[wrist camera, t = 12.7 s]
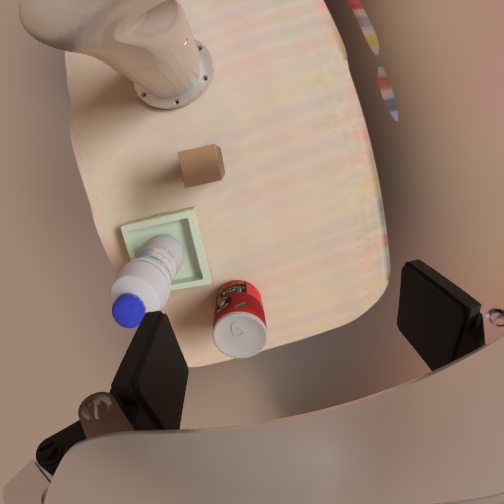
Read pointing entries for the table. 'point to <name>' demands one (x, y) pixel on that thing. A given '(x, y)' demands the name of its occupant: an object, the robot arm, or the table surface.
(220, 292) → the canned food
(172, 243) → the bottle
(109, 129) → the table surface
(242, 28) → the table surface
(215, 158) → the walnut post
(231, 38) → the table surface
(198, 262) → the tray
